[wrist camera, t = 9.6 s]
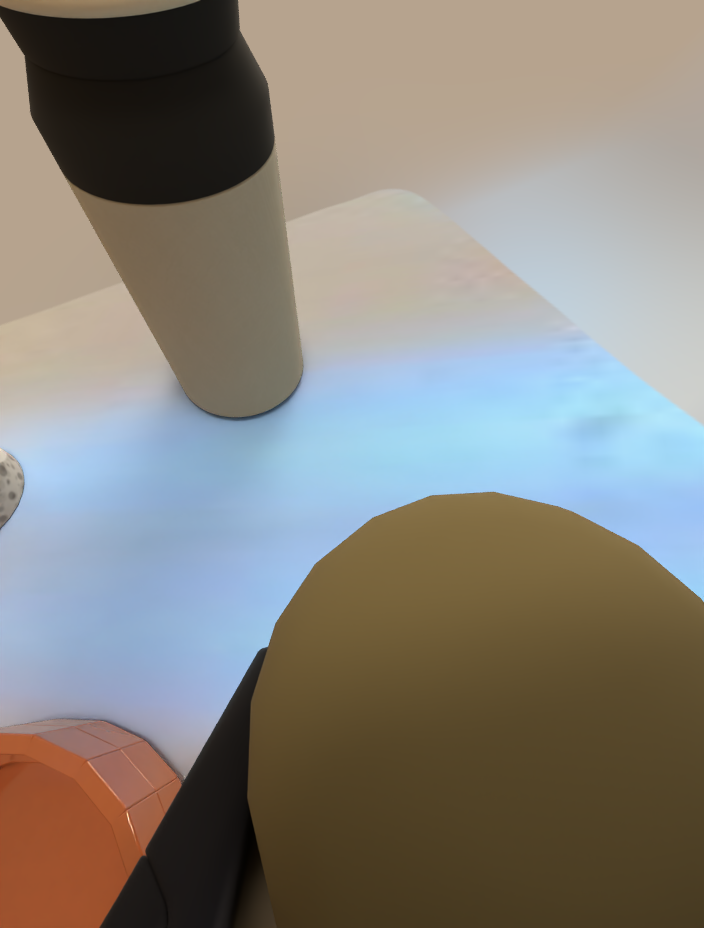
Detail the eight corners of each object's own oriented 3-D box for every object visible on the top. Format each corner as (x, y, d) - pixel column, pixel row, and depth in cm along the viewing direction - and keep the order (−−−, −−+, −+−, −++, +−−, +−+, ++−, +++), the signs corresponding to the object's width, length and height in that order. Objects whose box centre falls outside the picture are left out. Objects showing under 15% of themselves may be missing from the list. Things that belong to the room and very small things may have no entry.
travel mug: (318, 339, 29) (287, -83, 13) (280, 433, 25) (172, 12, 9) (212, 316, 30) (57, -108, 13) (161, 404, 26) (-131, -30, 10)
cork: (363, 876, 11) (549, 2683, 1) (263, 658, 13) (40, 599, 3) (533, 734, 12) (1244, 938, 3) (417, 562, 15) (562, 333, 5)
